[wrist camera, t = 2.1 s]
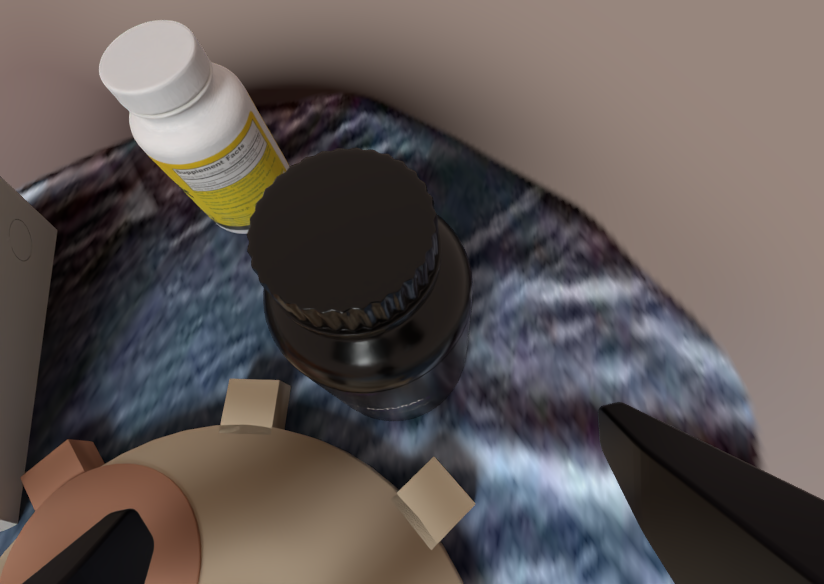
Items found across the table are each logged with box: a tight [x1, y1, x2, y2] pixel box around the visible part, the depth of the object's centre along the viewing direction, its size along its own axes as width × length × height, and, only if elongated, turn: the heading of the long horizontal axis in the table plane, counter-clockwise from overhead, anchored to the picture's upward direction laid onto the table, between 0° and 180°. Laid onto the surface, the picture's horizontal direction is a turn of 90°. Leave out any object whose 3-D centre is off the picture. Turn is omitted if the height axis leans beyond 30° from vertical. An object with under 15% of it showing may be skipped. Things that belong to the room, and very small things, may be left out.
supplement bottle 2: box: [247, 148, 473, 421], centre depth 16 cm, size 7×7×12 cm
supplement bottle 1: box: [99, 20, 290, 234], centre depth 22 cm, size 5×5×10 cm
